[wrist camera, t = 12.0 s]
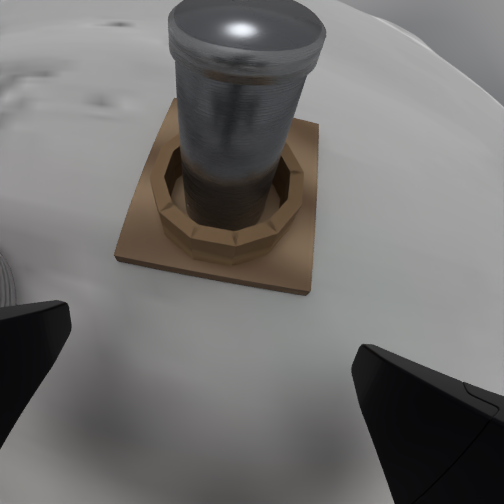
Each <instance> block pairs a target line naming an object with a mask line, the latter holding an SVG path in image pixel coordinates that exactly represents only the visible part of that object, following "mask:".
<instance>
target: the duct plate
mask: <svg viewBox="0 0 504 504" xmlns="http://www.w3.org/2000/svg"><path fill="white" fill-rule="evenodd" d="M318 139H319V124H316V123H312V122H308V121H304V120H300V119H296V118H293V120H292V123H291V126H290V129H289V132H288V135H287V138H286V141H285V145H284V148H283V151H282V154H281V157H280V160H279V163H278V166H277V169H276V172H275V175H274V179H273V182H272V185H271V188H270V191H269V194H268V197H267V200H266V203H265V206H264V209H263V213H262V215H261V218H260V220H259V221H258V223H257V224H256V225H254V226H251V227H247V228H244V229H241V230H238V231H230V230H224V229H219V228H213V227H208V226H202V225H198V224H197V223H195V222H194V221H193V220H192V219H190V218H189V216H188V214H187V211H186V204H185V195H184V185H183V174H182V163H181V151H180V138H179V124H178V108H177V98H174V99H173V102H172V104H171V106H170V108H169V110H168V112H167V114H166V117H165V119H164V121H163V123H162V126H161V128H160V130H159V132H158V135H157V137H156V139H155V142H154V144H153V147H152V149H151V151H150V154H149V156H148V159H147V161H146V164H145V166H144V169H143V171H142V174H141V177H140V179H139V182H138V185H137V187H136V190H135V193H134V195H133V198H132V201H131V204H130V207H129V209H128V212H127V215H126V218H125V221H124V224H123V227H122V230H121V233H120V237H119V240H118V243H117V246H116V249H115V253H114V256H115V258H116V259H117V261H120V262H125V263H130V264H135V265H140V266H145V267H150V268H155V269H160V270H165V271H170V272H175V273H180V274H185V275H191V276H196V277H201V278H207V279H212V280H218V281H223V282H229V283H234V284H240V285H245V286H251V287H257V288H263V289H269V290H275V291H281V292H287V293H293V294H299V295H305V296H306V295H307V294H308V293H309V292H310V291H311V279H312V266H313V252H314V237H315V220H316V200H317V176H318Z"/></svg>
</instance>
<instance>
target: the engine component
mask: <svg viewBox="0 0 504 504" xmlns="http://www.w3.org/2000/svg"><path fill="white" fill-rule="evenodd" d="M15 305H16V293H15V285H14V280H13V276H12V273H11V270H10V268H9V266H8V264H7V262H6V260H5V258H4V257H3V256H2V255H1V253H0V307H7V306H15Z"/></svg>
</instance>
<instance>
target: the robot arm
mask: <svg viewBox="0 0 504 504" xmlns="http://www.w3.org/2000/svg"><path fill="white" fill-rule="evenodd" d="M70 332H71V318H70V311H69V306H68V304H67V303H66V302H63V301H59V300H53V301H46V302H38V303H30V304H23V305H15V306H7V307H0V449H1V447H2V445H3V444H4V442H5V440H6V438H7V437H8V435H9V433H10V432H11V430H12V428H13V427H14V425H15V423H16V422H17V420H18V418H19V417H20V415H21V413H22V412H23V410H24V409H25V407H26V405H27V404H28V402H29V401H30V399H31V398H32V396H33V395H34V393H35V391H36V390H37V388H38V387H39V385H40V384H41V382H42V381H43V379H44V378H45V376H46V375H47V373H48V372H49V371H50V369H51V367H52V366H53V364H54V363H55V361H56V359H57V357H58V355H59V353H60V351H61V350H62V348H63V346H64V344H65V342H66V340H67V338H68V337H69V335H70ZM351 372H352V377H353V381H354V385H355V389H356V393H357V397H358V401H359V405H360V408H361V411H362V414H363V417H364V419H365V422H366V425H367V427H368V430H369V433H370V435H371V438H372V441H373V443H374V446H375V449H376V452H377V454H378V457H379V460H380V463H381V466H382V469H383V471H384V474H385V477H386V480H387V483H388V486H389V489H390V492H391V495H392V497H393V500H394V503H395V504H504V396H502V395H499V394H496V393H493V392H490V391H487V390H484V389H482V388H479V387H476V386H474V385H471V384H468V383H466V382H463V383H462V381H460V380H457V379H455V378H452V377H450V376H447V375H445V374H442V373H440V372H437V371H435V370H432V369H430V368H428V367H425V366H423V365H420V364H418V363H416V362H413V361H411V360H408V359H406V358H404V357H401V356H399V355H397V354H394V353H392V352H389V351H387V350H385V349H382V348H380V347H378V346H375V345H372V344H362V345H361V346H360V347H359V349H358V352H357V354H356V357H355V359H354V361H353V364H352V368H351Z"/></svg>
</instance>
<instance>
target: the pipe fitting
mask: <svg viewBox="0 0 504 504" xmlns="http://www.w3.org/2000/svg"><path fill="white" fill-rule="evenodd" d="M168 32H169V50H170V54H171V55H172V57H173V59H174V60H175V68H176V90H177V108H178V124H179V138H180V151H181V163H182V174H183V185H184V195H185V204H186V211H187V214H188V216H189V218H190V219H192V220H193V221H194V222H195V223H197V224H198V225H202V226H208V227H213V228H219V229H224V230H230V231H238V230H241V229H244V228H247V227H251V226H254V225H256V224H257V223H258V221H259V220H260V218H261V215H262V213H263V209H264V206H265V203H266V200H267V197H268V194H269V191H270V188H271V185H272V182H273V179H274V175H275V172H276V169H277V166H278V163H279V160H280V157H281V154H282V151H283V148H284V145H285V141H286V138H287V135H288V132H289V129H290V126H291V123H292V120H293V117H294V114H295V111H296V108H297V104H298V101H299V98H300V95H301V92H302V89H303V86H304V83H305V80H306V77H307V75H308V74H309V73H310V72H311V71H312V70H313V69H314V68H315V66H316V64H317V61H318V58H319V55H320V52H321V50H322V47H323V44H324V41H325V38H326V29H325V27H324V25H323V23H322V22H321V21H320V20H319V18H318V17H317V16H316V15H315V14H314V13H313V12H312V11H311V10H309V9H308V8H307V7H305V6H303V5H302V4H300V3H298V2H296V1H293V0H183V1H182V2H181V3H180V4H178V5H177V6H176V7H175V8H173V9H172V11H171V12H170V14H169V17H168Z"/></svg>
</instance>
